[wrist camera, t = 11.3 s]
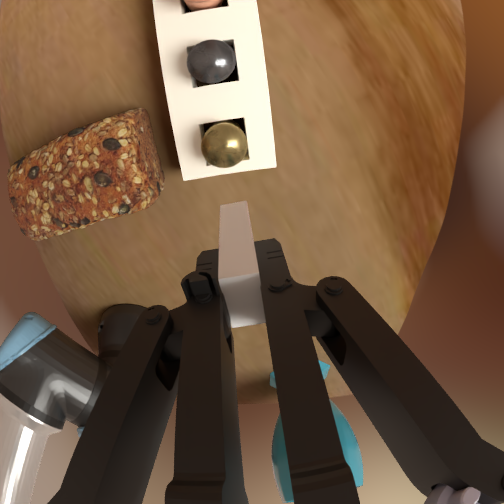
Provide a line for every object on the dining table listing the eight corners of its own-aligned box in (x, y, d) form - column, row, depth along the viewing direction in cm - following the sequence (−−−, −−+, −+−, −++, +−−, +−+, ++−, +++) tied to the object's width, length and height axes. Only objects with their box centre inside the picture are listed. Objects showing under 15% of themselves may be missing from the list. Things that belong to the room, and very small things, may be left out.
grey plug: (197, 87, 26) (190, 87, 21) (192, 51, 24) (183, 44, 19) (237, 80, 26) (238, 79, 21) (232, 45, 24) (232, 36, 19)
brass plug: (209, 156, 31) (205, 171, 26) (203, 120, 29) (197, 128, 24) (246, 151, 31) (250, 164, 26) (242, 114, 28) (244, 120, 24)
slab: (188, 170, 32) (183, 180, 29) (159, -11, 19) (150, -22, 15) (271, 157, 32) (276, 167, 29) (247, -26, 18) (249, -39, 15)
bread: (58, 214, 33) (23, 252, 25) (35, 149, 27) (-10, 174, 19) (171, 183, 33) (151, 220, 25) (151, 102, 27) (120, 110, 19)
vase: (263, 360, 55) (280, 500, 30) (342, 350, 55) (380, 478, 31) (262, 395, 64) (274, 504, 40) (327, 387, 65) (351, 490, 40)
